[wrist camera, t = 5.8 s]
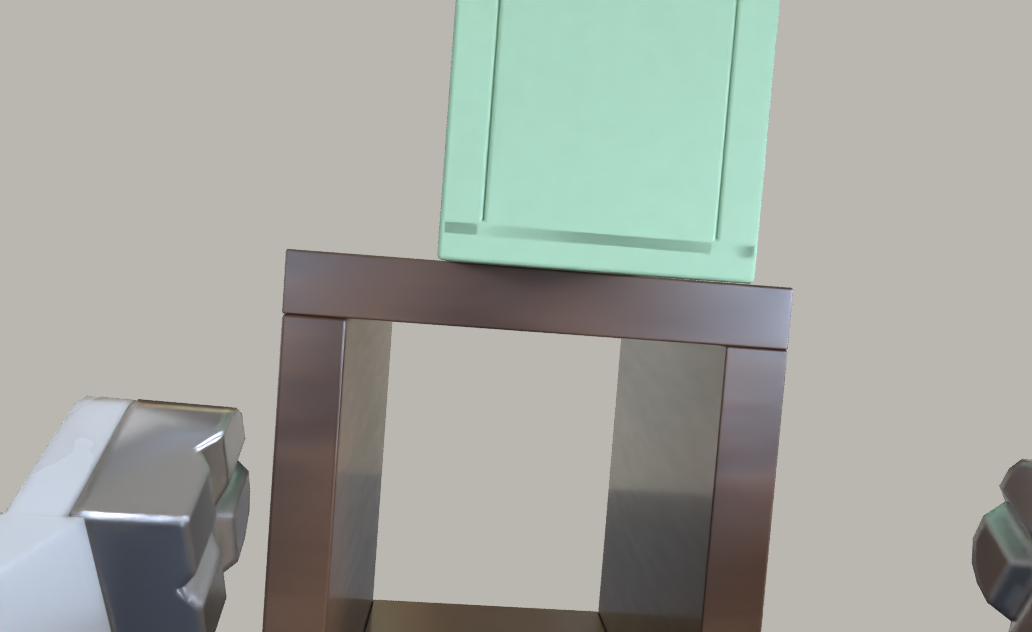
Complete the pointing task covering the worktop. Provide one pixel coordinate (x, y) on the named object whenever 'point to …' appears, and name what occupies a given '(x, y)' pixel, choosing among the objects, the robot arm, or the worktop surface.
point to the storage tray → (609, 135)
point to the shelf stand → (635, 450)
